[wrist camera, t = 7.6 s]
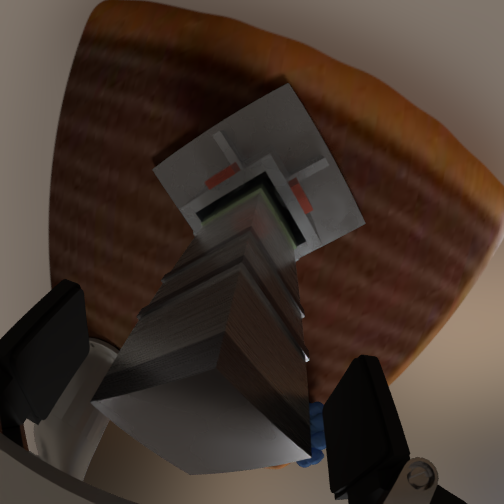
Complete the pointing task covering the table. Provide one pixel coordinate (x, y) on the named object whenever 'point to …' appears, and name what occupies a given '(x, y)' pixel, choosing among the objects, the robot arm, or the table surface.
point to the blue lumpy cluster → (315, 435)
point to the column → (220, 348)
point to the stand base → (265, 170)
